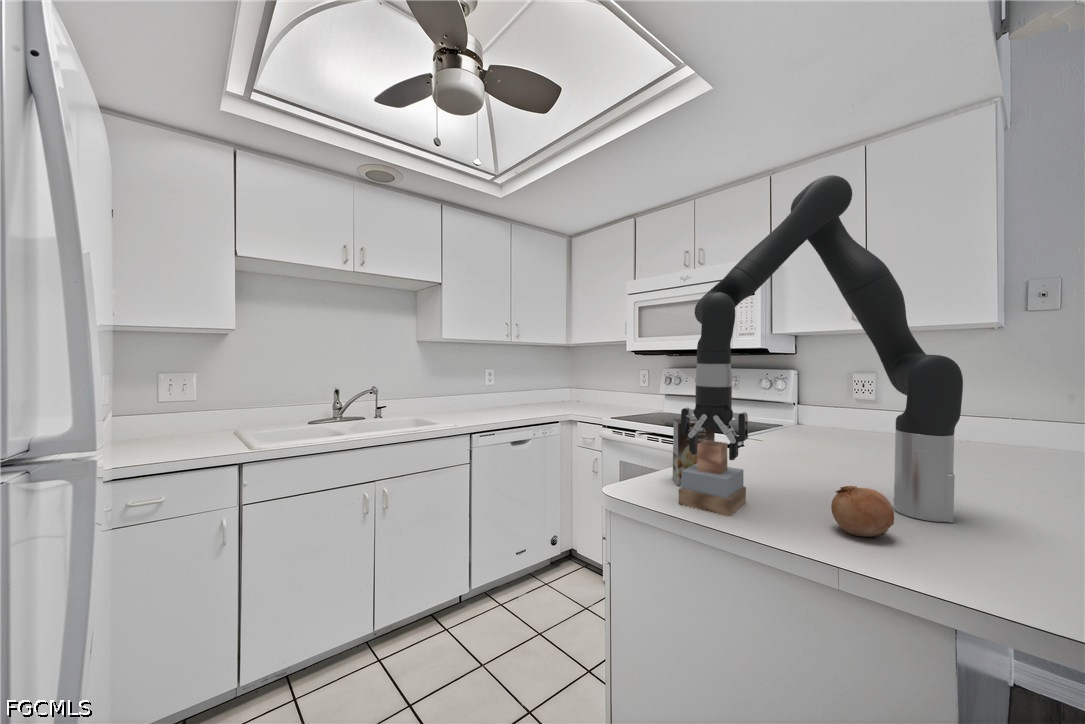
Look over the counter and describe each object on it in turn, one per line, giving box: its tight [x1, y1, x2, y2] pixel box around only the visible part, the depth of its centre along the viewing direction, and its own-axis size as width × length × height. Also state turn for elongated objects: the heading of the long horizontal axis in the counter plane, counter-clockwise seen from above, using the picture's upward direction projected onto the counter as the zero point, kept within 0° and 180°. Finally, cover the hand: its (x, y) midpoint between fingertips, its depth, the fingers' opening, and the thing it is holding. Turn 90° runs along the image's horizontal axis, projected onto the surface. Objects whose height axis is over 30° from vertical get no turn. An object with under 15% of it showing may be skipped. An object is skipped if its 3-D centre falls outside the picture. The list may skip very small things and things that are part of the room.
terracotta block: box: [697, 440, 728, 474], centre depth 98 cm, size 5×5×6 cm
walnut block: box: [678, 485, 747, 517], centre depth 98 cm, size 11×11×4 cm
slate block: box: [680, 464, 744, 498], centre depth 98 cm, size 10×10×4 cm
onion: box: [830, 485, 895, 538], centre depth 82 cm, size 10×9×10 cm
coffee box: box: [672, 418, 716, 487], centre depth 113 cm, size 9×6×16 cm
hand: (712, 456), depth 98 cm, fingers open, 8 cm apart
